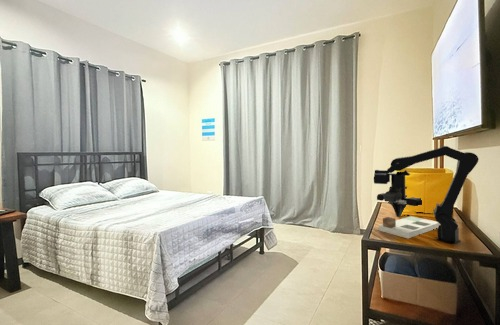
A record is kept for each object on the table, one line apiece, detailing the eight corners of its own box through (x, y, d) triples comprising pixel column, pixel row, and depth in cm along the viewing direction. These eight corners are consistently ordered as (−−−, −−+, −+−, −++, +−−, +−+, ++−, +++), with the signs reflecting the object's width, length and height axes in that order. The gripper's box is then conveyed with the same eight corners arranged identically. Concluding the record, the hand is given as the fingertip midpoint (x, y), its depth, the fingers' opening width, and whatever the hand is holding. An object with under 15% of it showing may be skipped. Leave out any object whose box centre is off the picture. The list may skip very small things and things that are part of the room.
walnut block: (395, 226, 124) (395, 218, 124) (390, 228, 122) (390, 220, 122) (387, 224, 128) (387, 216, 128) (382, 226, 126) (382, 218, 126)
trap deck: (440, 227, 128) (440, 222, 128) (408, 238, 115) (408, 233, 115) (410, 220, 141) (410, 216, 141) (378, 230, 127) (378, 225, 127)
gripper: (369, 184, 124) (369, 215, 125) (408, 188, 108) (408, 224, 108) (383, 182, 129) (384, 212, 130) (423, 186, 113) (423, 220, 114)
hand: (398, 217), depth 120 cm, fingers closed
